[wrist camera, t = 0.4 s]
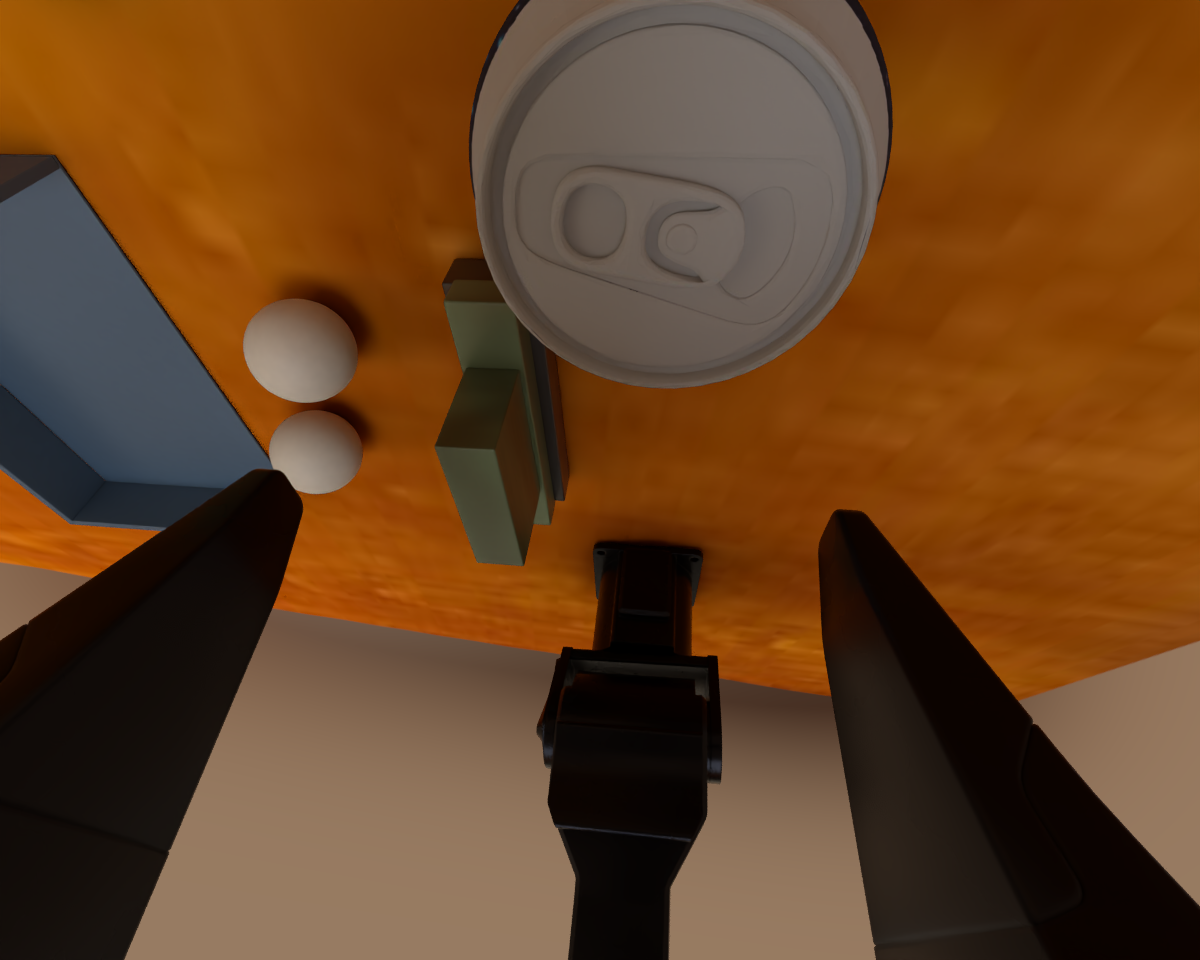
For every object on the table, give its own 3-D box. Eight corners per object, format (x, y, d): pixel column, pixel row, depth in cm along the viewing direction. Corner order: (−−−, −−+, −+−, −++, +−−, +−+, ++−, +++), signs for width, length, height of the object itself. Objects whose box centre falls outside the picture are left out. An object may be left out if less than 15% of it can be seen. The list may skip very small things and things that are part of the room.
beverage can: (750, 149, 17) (797, 434, 9) (563, 114, 17) (456, 375, 9) (835, -123, 13) (1052, -4, 5) (584, -176, 13) (415, -132, 5)
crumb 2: (385, 452, 30) (356, 513, 27) (313, 448, 30) (278, 507, 28) (358, 394, 27) (323, 457, 24) (278, 390, 27) (235, 452, 25)
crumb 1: (385, 362, 25) (350, 426, 23) (299, 358, 25) (255, 421, 23) (352, 279, 22) (307, 342, 19) (255, 276, 22) (199, 338, 20)
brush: (545, 255, 20) (502, 385, 16) (569, 478, 30) (547, 599, 25) (453, 253, 21) (385, 380, 16) (506, 474, 30) (473, 593, 26)
